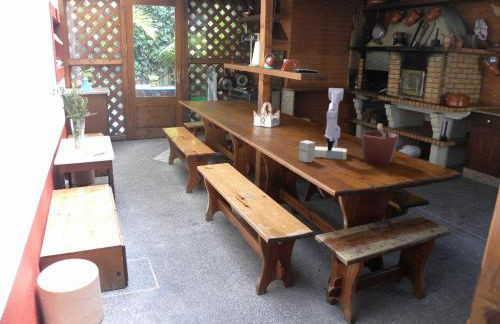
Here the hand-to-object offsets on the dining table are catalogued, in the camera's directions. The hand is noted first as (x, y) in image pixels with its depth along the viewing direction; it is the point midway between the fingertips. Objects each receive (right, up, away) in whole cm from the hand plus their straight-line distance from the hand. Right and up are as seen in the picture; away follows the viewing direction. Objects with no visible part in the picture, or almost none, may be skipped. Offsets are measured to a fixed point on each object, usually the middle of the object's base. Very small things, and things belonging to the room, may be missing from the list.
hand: (329, 149), depth 268 cm
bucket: (+29, -9, -4) cm, 31 cm away
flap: (+3, -6, +2) cm, 7 cm away
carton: (0, -4, +8) cm, 9 cm away
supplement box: (-16, -8, -4) cm, 18 cm away
